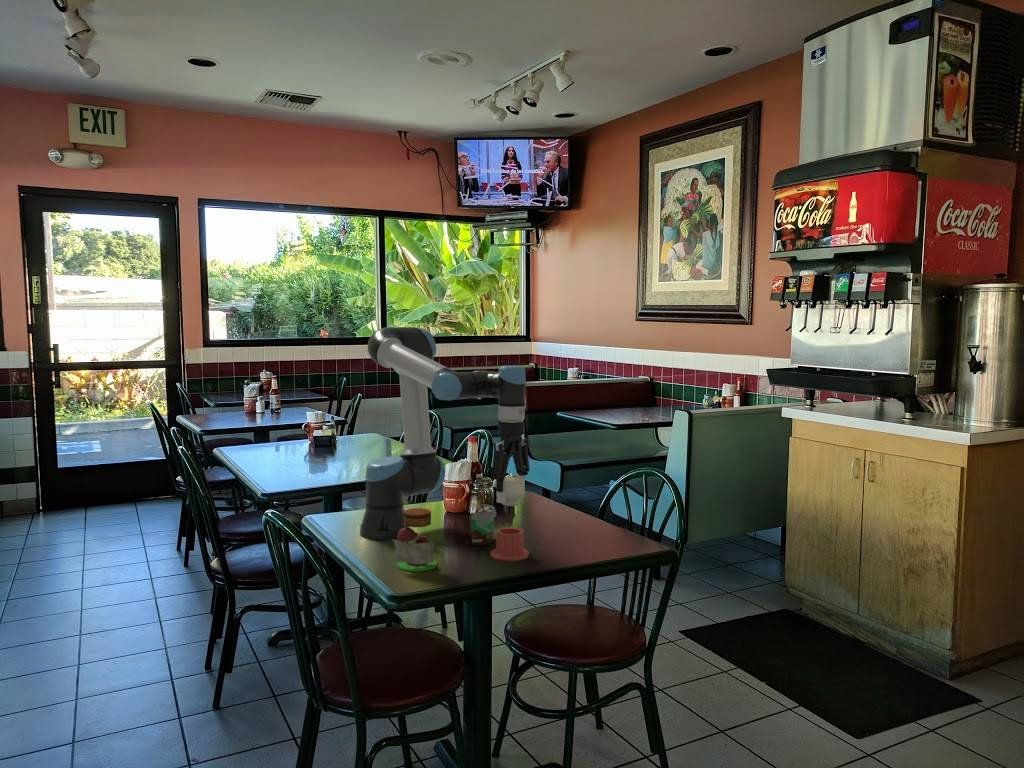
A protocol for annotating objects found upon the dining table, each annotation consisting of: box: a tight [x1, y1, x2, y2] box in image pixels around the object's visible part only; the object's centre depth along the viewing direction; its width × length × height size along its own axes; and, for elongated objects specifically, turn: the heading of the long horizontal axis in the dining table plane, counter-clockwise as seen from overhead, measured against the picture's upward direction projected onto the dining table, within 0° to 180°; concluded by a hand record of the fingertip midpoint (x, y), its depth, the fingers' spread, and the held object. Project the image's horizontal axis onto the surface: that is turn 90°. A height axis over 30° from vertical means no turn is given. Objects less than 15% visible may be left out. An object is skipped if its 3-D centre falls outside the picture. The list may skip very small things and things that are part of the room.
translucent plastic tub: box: [391, 507, 438, 572], centre depth 203 cm, size 12×13×15 cm
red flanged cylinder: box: [490, 527, 530, 562], centre depth 214 cm, size 11×11×7 cm
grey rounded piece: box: [495, 476, 526, 507], centre depth 213 cm, size 8×8×7 cm
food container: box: [470, 503, 497, 546], centre depth 228 cm, size 12×6×10 cm, turn 168°
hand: (510, 500), depth 213 cm, fingers closed on grey rounded piece, 8 cm apart
